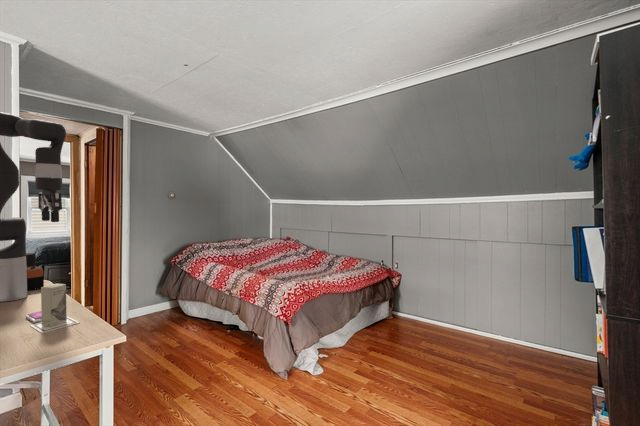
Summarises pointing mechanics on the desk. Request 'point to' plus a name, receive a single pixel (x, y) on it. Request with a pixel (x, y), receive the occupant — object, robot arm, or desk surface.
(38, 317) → the ink pad
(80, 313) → the desk surface
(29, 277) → the battery
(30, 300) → the desk surface
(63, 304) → the box
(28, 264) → the deodorant
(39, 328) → the paper
